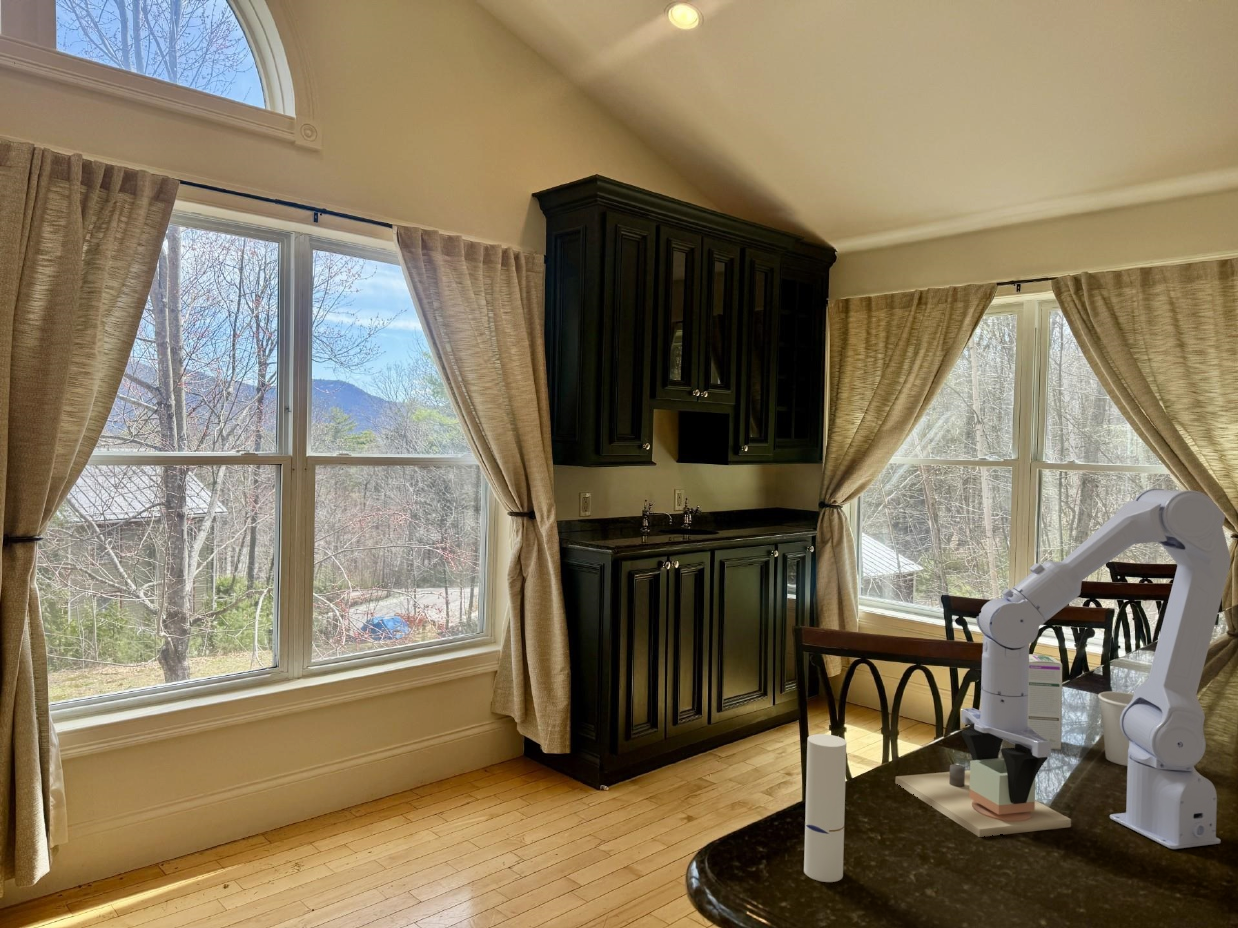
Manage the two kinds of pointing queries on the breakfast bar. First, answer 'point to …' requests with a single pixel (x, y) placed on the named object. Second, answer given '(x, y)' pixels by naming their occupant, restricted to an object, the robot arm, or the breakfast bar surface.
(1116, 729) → the dixie cup
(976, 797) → the sleeve
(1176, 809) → the robot arm
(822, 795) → the tube
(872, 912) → the breakfast bar surface
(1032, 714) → the syrup box
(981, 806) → the pin board
